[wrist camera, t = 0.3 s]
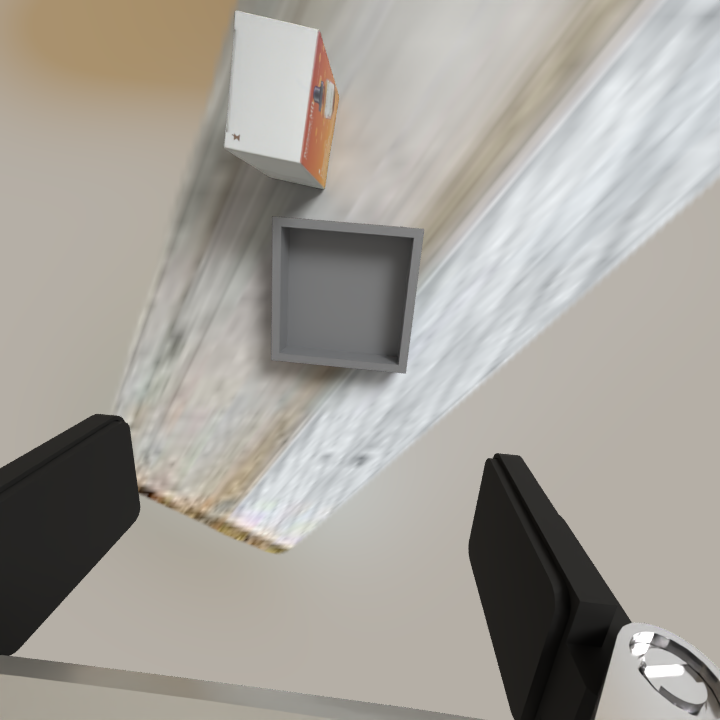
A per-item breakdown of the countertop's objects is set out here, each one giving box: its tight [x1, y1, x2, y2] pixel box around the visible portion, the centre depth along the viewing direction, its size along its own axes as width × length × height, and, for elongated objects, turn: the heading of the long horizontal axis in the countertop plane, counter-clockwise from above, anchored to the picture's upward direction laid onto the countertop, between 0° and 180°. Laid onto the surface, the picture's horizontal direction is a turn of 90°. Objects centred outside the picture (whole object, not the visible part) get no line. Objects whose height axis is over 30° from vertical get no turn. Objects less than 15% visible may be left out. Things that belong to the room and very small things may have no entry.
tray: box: [271, 216, 424, 373], centre depth 36 cm, size 14×14×4 cm
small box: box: [223, 10, 339, 189], centre depth 28 cm, size 8×6×10 cm
